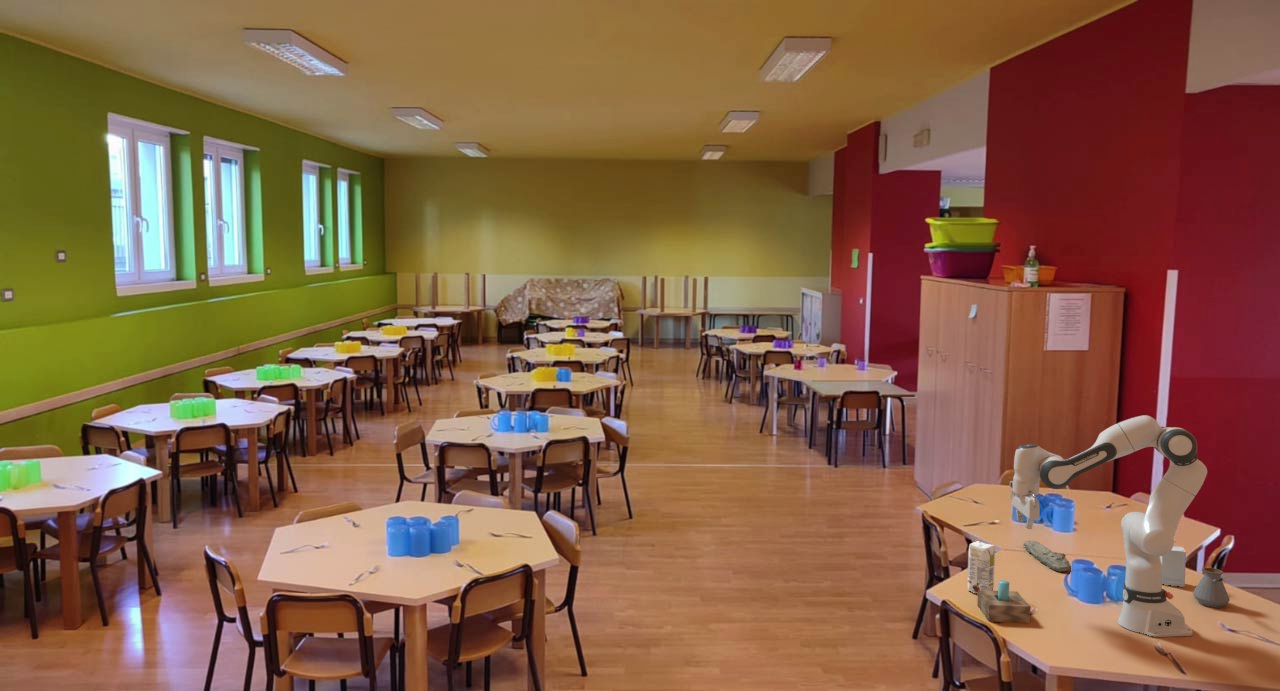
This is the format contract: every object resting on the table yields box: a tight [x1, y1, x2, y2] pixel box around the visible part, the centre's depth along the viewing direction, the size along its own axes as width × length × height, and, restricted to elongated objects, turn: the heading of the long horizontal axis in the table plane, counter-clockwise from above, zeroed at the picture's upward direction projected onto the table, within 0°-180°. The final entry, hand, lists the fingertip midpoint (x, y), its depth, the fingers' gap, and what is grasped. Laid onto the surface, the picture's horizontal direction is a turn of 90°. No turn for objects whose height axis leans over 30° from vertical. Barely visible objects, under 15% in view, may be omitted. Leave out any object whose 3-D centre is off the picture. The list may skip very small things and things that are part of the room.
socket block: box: [976, 590, 1031, 624], centre depth 311 cm, size 14×14×6 cm
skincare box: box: [1160, 545, 1187, 588], centre depth 340 cm, size 8×6×15 cm
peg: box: [997, 580, 1010, 601], centre depth 311 cm, size 4×4×12 cm
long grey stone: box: [1023, 540, 1071, 573], centre depth 370 cm, size 35×5×10 cm
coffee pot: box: [1192, 567, 1231, 609], centre depth 316 cm, size 21×12×15 cm, turn 156°
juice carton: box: [967, 540, 996, 595], centre depth 332 cm, size 8×9×19 cm
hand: (1024, 524), depth 316 cm, fingers open, 8 cm apart
